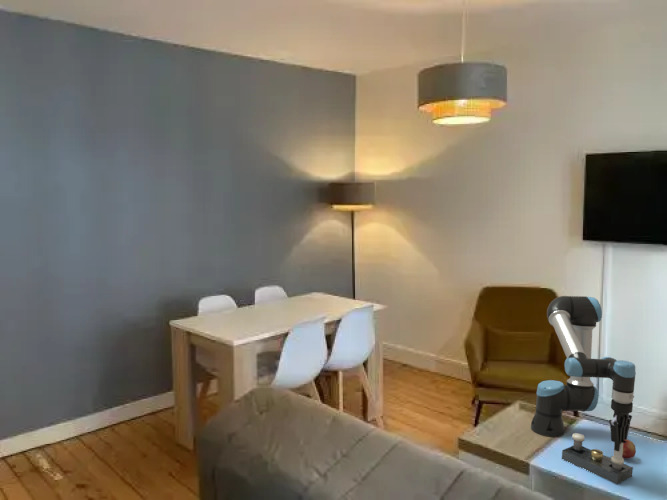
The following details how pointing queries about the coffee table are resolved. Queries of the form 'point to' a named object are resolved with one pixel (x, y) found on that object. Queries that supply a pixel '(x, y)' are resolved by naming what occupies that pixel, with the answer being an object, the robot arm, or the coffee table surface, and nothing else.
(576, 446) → the knob
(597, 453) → the brass dial
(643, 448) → the coffee table surface
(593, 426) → the coffee table surface
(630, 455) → the fruit
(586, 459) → the panel
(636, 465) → the coffee table surface
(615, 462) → the knob
